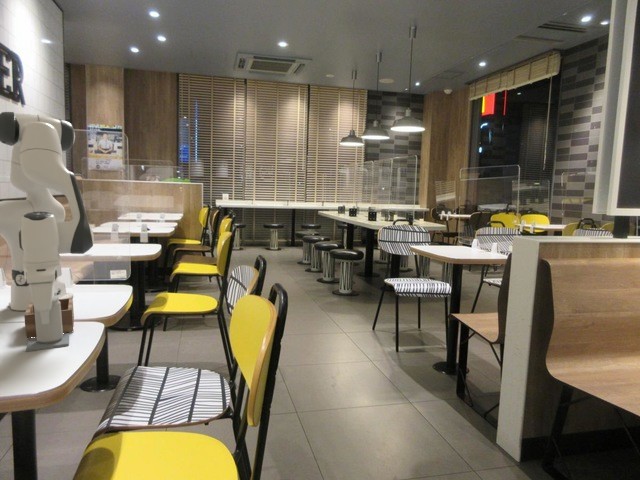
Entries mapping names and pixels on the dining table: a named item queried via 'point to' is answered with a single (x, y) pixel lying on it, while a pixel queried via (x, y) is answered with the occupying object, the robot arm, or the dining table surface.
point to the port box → (66, 315)
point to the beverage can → (50, 324)
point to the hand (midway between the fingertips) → (46, 318)
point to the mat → (37, 345)
